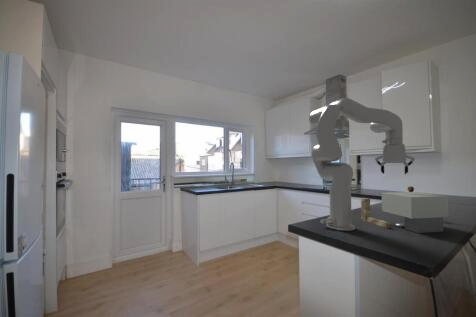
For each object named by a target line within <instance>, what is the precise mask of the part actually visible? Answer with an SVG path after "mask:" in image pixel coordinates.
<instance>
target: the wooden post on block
mask: <svg viewBox="0 0 476 317" xmlns="http://www.w3.org/2000/svg"><path fill="white" fill-rule="evenodd" d="M360 206H361V207H360V211H361V213H360V214H361V215H360V216H361V221H363V222H367V223H370V224H373V225H376V226H379V227H381V228H384V229H391V222H389V221H388V222H387V221H386V220H382V219H378V218H375V217H372V216H371V199H370V198H368V197H361V198H360Z"/></svg>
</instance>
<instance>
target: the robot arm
mask: <svg viewBox="0 0 476 317" xmlns="http://www.w3.org/2000/svg"><path fill="white" fill-rule="evenodd" d="M308 116H309V117H308V121H309V123H310V124H311V125H313V126H315V127H316V129H315V137H316V140H317V143H318V144H315V145H314V146H313V148H312V150H311V158H312V161H313V163H314V166H315V168H316V171H317V173H318V175H319V176H320V178H321V179H322V180H325V181H327V182H331V185H330V187H329V191H328V192H329V216H327V218H326V219H324V218H323V219H320V223H321V224H326V227H328V228H329V229H332V230H336V231H344V232H350V231H354V230H356V226H355V224H352V182H353V178H354V177H353V176H354V169H353V167H352V166H351V165H350V164H349V163H347V162H343V161H342V162H339V161H340V159H342V157H343V151H342V148H341V145H340V142H339V140H338V138H337V136H336V132H335V126H336V123H337V121H338V119H339V118H340V117H345V118H347V119H349V120H351V121H353V122H355V123H359V124H369V129H370V131H371V132H373V133H376V134H380V133H385V136H384V138H385V139H384V140H382V141H381V142H382V144H383V147H382V155H379V156H378V157H375V158H374V160H375V162H376V163H377V164H378V165H379V167H380V172H381V173H382V174H385V164H403V165H404V175H407V173H409V166H411V165H412V164H413V163H414V162H415V160H416V158H415V157H412V156H410V155H408V154H407V150H406V145H405V143H404V142H403V138H404V137H403V131H404V130H403V129H404V128H403V120H402V118H401V117H400V116H399V115H398V114H396V113H395V112H392V111H389V110H387V109H383V108H373V107H368V106H365V105H363V104H361V103H359V102H358V101H355V100H353V99H351V98H349V97H342V98H339V99H336V100H335V101H333V102H329V103H328V104H326V105H324V106H321V107H319V108H316V109H314V110H313V111H311V112H310V113H309V115H308ZM380 159H382V162H380ZM407 159H409V160H410V161H409V162H406V161H407Z"/></svg>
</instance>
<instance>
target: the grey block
mask: <svg viewBox="0 0 476 317" xmlns="http://www.w3.org/2000/svg"><path fill="white" fill-rule="evenodd" d="M381 212H386V213H389V214H393V215H396V216H400V217H404V224H405V227H404V230H407V231H411V232H413V233H416V234H417V233H418V234H419V233H420V234H421V233H439V232H440V233H442V232H444V218H449V196H447V195H440V194H434V193H433V194H431V193H425V192H417V191H413V192H409V191H402V192H401V191H399V192H394V191H393V192H381Z"/></svg>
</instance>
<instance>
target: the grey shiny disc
mask: <svg viewBox="0 0 476 317" xmlns="http://www.w3.org/2000/svg"><path fill="white" fill-rule="evenodd" d="M395 226H398V227H403V228H405V223H402V222H396V223H395Z"/></svg>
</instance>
